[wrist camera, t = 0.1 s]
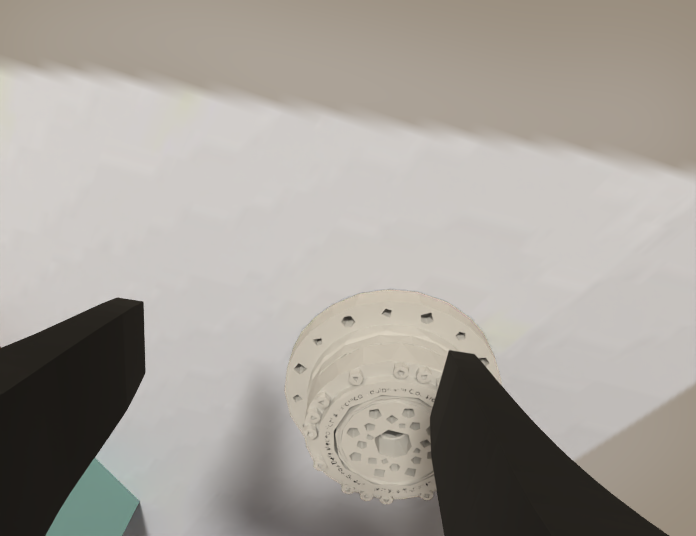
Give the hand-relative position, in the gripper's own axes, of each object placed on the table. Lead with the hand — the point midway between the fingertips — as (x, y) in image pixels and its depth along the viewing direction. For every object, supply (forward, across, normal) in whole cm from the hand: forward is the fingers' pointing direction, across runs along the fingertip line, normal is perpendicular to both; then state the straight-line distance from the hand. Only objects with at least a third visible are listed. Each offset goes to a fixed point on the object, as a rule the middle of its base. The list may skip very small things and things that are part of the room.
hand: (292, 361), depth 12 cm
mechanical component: (+11, -4, +8) cm, 14 cm away
